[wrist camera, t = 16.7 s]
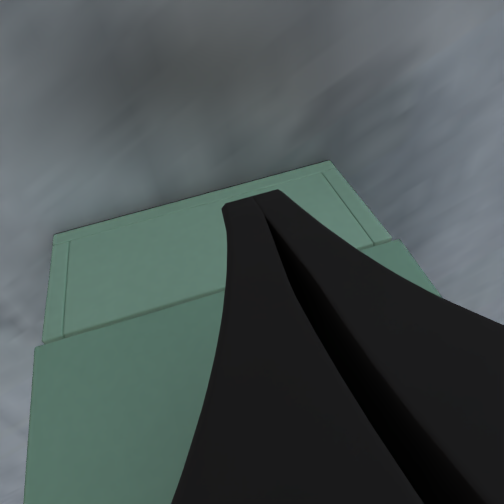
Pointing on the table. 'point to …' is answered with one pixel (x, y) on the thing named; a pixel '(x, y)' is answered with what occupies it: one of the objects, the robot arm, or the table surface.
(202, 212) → the green storage bin
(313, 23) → the table surface
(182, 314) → the maker lid
